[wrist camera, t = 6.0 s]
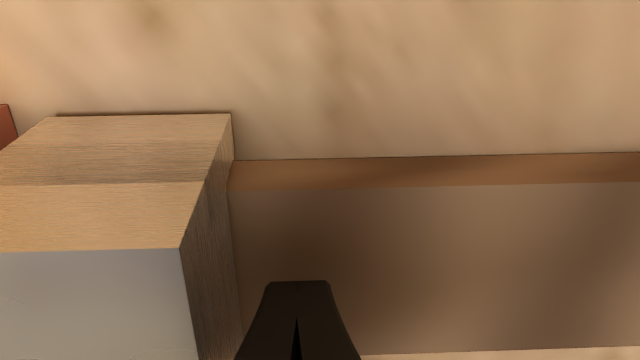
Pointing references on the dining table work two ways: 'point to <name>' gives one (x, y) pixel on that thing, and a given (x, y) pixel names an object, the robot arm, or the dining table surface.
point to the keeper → (118, 240)
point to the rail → (446, 246)
